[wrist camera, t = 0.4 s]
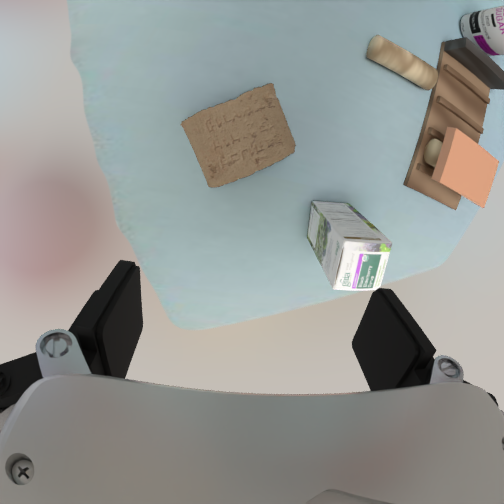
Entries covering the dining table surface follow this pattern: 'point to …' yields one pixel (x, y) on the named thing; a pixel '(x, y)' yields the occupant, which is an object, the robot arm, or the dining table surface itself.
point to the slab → (465, 167)
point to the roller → (402, 62)
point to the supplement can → (485, 30)
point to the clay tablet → (240, 136)
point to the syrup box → (347, 246)
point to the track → (454, 109)
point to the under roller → (432, 151)
